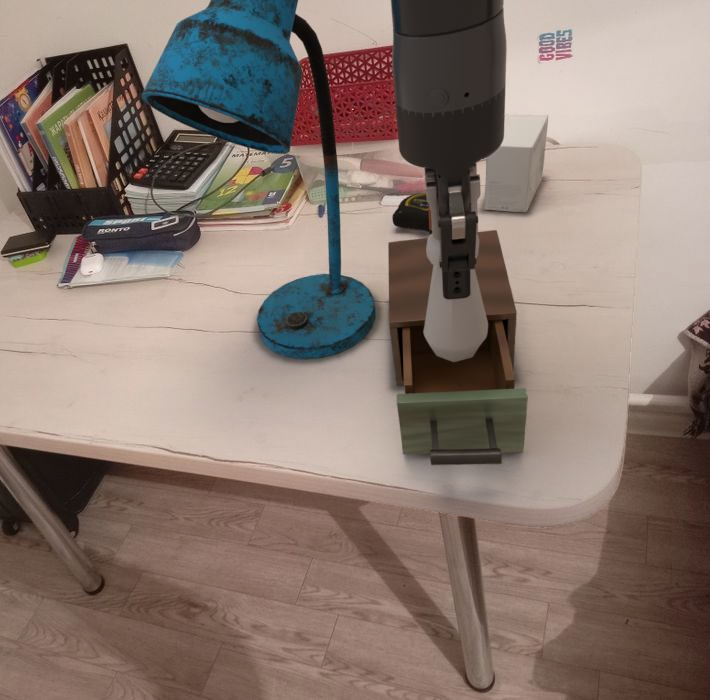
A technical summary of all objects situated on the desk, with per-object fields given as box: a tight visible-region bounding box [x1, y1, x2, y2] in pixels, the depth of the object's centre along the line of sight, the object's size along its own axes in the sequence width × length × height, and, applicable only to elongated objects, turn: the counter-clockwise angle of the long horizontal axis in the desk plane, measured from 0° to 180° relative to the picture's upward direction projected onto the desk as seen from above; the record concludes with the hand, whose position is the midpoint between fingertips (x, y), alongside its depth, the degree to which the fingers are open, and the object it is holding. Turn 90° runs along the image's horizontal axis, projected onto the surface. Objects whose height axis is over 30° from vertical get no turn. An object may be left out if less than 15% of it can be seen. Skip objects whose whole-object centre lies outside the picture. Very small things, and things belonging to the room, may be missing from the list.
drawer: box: [396, 320, 529, 466], centre depth 63 cm, size 19×11×8 cm, turn 169°
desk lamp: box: [141, 0, 377, 360], centre depth 69 cm, size 16×22×45 cm
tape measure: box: [391, 192, 430, 233], centre depth 94 cm, size 7×7×4 cm
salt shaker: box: [423, 234, 488, 362], centre depth 56 cm, size 6×6×13 cm
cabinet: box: [387, 229, 518, 386], centre depth 73 cm, size 16×13×10 cm
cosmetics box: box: [483, 113, 549, 213], centre depth 92 cm, size 10×6×10 cm, turn 148°
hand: (454, 278), depth 55 cm, fingers closed on salt shaker, 4 cm apart
